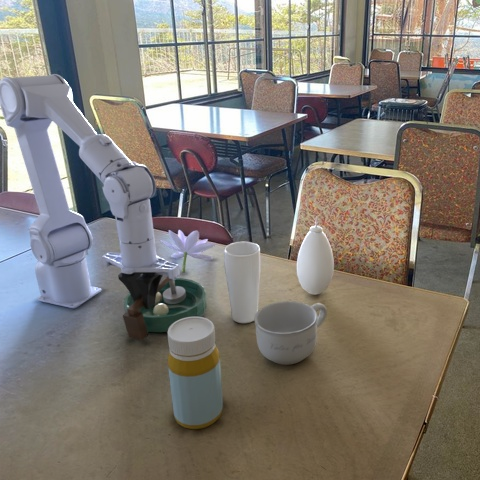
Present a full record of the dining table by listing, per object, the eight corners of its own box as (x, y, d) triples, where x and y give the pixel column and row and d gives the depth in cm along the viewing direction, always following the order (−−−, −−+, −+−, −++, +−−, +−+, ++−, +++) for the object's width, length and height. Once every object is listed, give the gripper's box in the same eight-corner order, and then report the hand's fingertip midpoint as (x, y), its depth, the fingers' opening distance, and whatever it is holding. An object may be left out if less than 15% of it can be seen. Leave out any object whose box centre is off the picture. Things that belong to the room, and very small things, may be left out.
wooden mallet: (171, 289, 99) (166, 264, 96) (190, 292, 98) (185, 267, 95) (125, 336, 87) (117, 309, 84) (146, 341, 85) (138, 313, 82)
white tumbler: (255, 329, 91) (253, 258, 85) (222, 324, 93) (217, 253, 87) (266, 310, 98) (265, 243, 92) (234, 306, 99) (231, 239, 93)
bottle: (179, 398, 74) (169, 315, 68) (225, 396, 74) (219, 314, 68) (170, 433, 67) (158, 344, 61) (220, 431, 68) (214, 343, 62)
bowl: (109, 326, 91) (106, 308, 89) (157, 289, 104) (155, 273, 103) (179, 342, 87) (177, 324, 85) (220, 301, 100) (219, 284, 99)
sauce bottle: (290, 297, 103) (290, 218, 96) (305, 281, 109) (306, 206, 102) (324, 305, 100) (327, 224, 93) (337, 288, 107) (341, 212, 100)
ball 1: (147, 305, 97) (143, 293, 96) (160, 299, 99) (156, 287, 98) (153, 308, 95) (149, 296, 94) (166, 303, 97) (162, 290, 96)
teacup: (269, 380, 78) (268, 339, 75) (246, 344, 87) (245, 306, 84) (343, 357, 84) (345, 318, 81) (315, 326, 93) (316, 289, 90)
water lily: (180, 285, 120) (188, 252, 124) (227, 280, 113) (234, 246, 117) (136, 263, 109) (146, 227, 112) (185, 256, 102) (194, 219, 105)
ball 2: (150, 318, 92) (151, 303, 93) (163, 318, 94) (164, 304, 95) (157, 317, 90) (158, 302, 91) (170, 318, 92) (171, 303, 93)
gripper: (84, 239, 81) (97, 309, 86) (159, 253, 77) (167, 324, 82) (113, 225, 87) (123, 290, 92) (183, 236, 83) (189, 304, 88)
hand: (145, 305), depth 88 cm, fingers closed on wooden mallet
